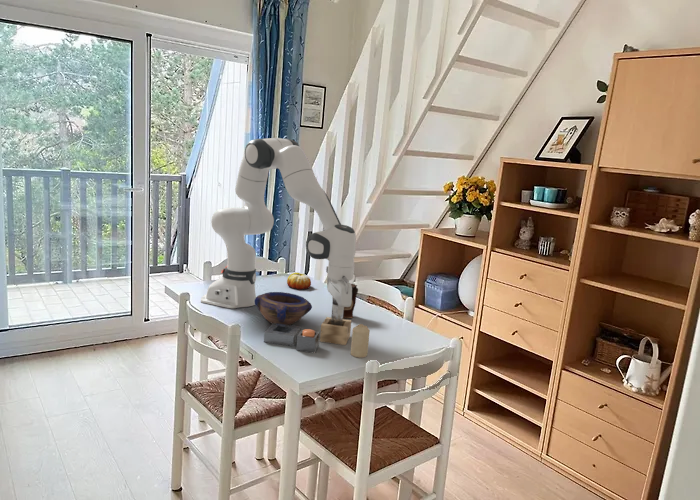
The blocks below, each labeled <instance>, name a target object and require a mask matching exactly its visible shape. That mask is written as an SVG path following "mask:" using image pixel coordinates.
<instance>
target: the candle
mask: <svg viewBox="0 0 700 500" xmlns="http://www.w3.org/2000/svg"><path fill="white" fill-rule="evenodd" d="M369 340H370V329H369V327H368V326H367V325H364V324H363V323H359V324H357V325H355V326H354V327H352V332H351V344H350V345H351V346H350V355H351V356H352V357H354V358H359V359H362V358H366V357H367V356H368V352H369V343H370V341H369Z"/></svg>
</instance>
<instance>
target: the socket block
mask: <svg viewBox="0 0 700 500" xmlns="http://www.w3.org/2000/svg"><path fill="white" fill-rule="evenodd" d="M301 330H302V326H299V325H293V324H291V325H286V324H279V323H273V324H272V323H271V325H270V326H269V327H268V328H267V329H266V330H265V331H263V333H264V334H263V335H264V336H263V343H268V344H274V343H275V344H276V345H281V344H282V345H283V346H288V345H290V347H294V346H295V344H297V336H298V334H299V333H300V332H301Z"/></svg>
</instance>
